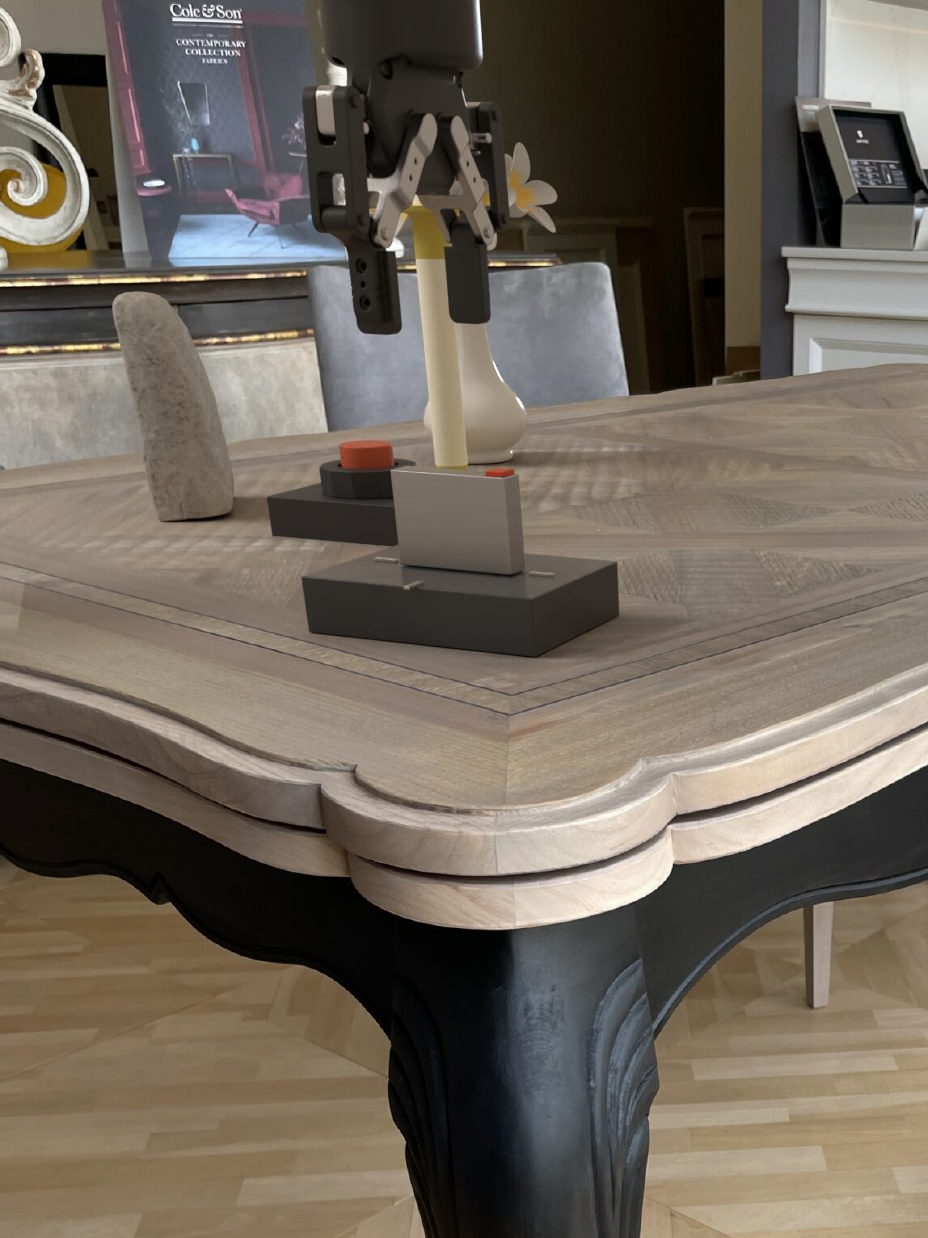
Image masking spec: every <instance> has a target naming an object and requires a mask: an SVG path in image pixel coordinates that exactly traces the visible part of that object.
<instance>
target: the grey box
mask: <svg viewBox="0 0 928 1238" xmlns="http://www.w3.org/2000/svg"><path fill="white" fill-rule="evenodd" d="M519 477H520V475H519V473H515V469H514V468H506V467H495V468H492V469H489V470H485V471H484V470H473V469H472V470H471V469H468V470H459V469H445V468H436V467H429V466H419V465H418V466H417V465H416V466H404V467H400V468H396V469H392V470H391V480H392V489H393V498H394V507H395V516H396V526H397V535H398V544H399V553H400V562H401V565H409V566H419V567H430V568H440V569H450V570H461V571H471V572H482V573H492V574H502V575H513V574H515V573H518V572H520V571H523V570H525V557H524V553H525V547H524V546H525V545H524V544H525V543H524V531H523V515H522V504H521V489H520V488H521V487H520V478H519Z"/></svg>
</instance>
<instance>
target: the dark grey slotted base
mask: <svg viewBox="0 0 928 1238" xmlns="http://www.w3.org/2000/svg"><path fill="white" fill-rule="evenodd" d="M524 557H525V570H523V571H520V572H518V573H515V574H513V575H502V574H492V573H482V572H471V571H461V570H450V569H440V568H430V567H419V566H409V565H401V562H400V553H399V545H396V546H388V547H386V548H383V549H380V550H377V551H375V552H374V551H373V552H372V553H371V552H370V553H368V554H366V555H363V556H358V557H357V558H353V559H350V560H347V561H343V562H341V563H338V564H334V565H332V566H329V567H326V568H322V569H319V570H316V571H314V572H310V573H307V574H304V575H302V576H300V577H301V579H300V580H301V585H302V592H303V600H304V606H305V613H306V622H307V628H308V631H309V632H310V633H315V634H324V635H334V636H343V637H352V638H362V639H370V640H378V641H388V642H396V643H405V644H415V645H424V646H433V647H440V648H441V647H442V648H449V649H460V650H470V651H478V652H486V653H496V654H503V655H504V654H505V655H513V656H523V657H532V658H537V657H538V656H540V655H542V654H544V653H546V652H548V651H551V650H552V649H554V648H556V647H558V646H560V645H562V644H564V643H566V642H568V641H570V640H572V639H574V638H576V637H578V636H580V635H582V634H584V633H586V632H588V631H589V630H592V629H594V628H595V627H597V626H600V625H602V624H603V623H605V622H608V621H609V620H611V619H614V618H616V617H617V616H619V615H620V596H619V573H618V569H619V568H618V561H615V560H606V559H595V558H583V557H573V556H572V557H571V556H562V555H561V556H559V555H549V554H538V553H526V552H524Z"/></svg>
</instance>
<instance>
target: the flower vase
mask: <svg viewBox="0 0 928 1238" xmlns="http://www.w3.org/2000/svg"><path fill="white" fill-rule="evenodd" d="M477 152H478V153H479V154H480V152H481V151H477ZM505 164H506V176H507V188H508V199H509V211H510V218H516V219H517V218H522V217H524V216H525V215H528V216H529V217H531V218H533V220H535V221H536V222H537V223H539V224H540V225H541V226H542V227H543V228H545V229H546V230H547V231H549V232H551V233H553V234H554V233H556V231H557V230H556V227H555V224H554V221H553V219H552V218H551V216H550V215H549V214H548V212H547V211H546V210H545V209H543V208H542V207H540V206H543V205H544V206H545V205H552V204H554V203H556V202H557V199H558V194H557V191H556V190H555V188H554V187H553V186H552V185H550V184H549V183H548V182H545V181H543V180H540V179H539V180H537V179H535V180H530V181H529V182H527V181H528V180H529V178H530V174H531V162H530V157H529V154H528V150H527V149H526V147H525V146H524V144H523V143H521V142H520V141H519V142H517V143H516V144H515V146H514V150H513V157H512V156H511V155H510V154H507V153H505ZM335 176H336V178H337V179H338V181H339V184H340V183H341V179H342V176H343V175H342V174H335ZM455 181H456V178H455ZM482 181H483V183H484V186H485V193H484V195H483V197H482V201H483V204H484V206H490V198H489V187H488V182H487V181H486V180H485V179H482ZM339 197H340V199H341V203H342V204H343V202H344V199H345V194H344V192H343V191H342V192H341V191H340V193H339ZM412 205H413V203H412ZM369 214H370V216H371V217H373V218H374V214H375V213H374V212H370V210H369ZM456 215H457V217H458V216H459V215H460V213H456ZM411 226H412V220H411V218H410V216H409V215H408V214H406V213H401V214H400V218H399V221H398V225H397V228H396V231H395V235H394V238H396V237H397V236H398V234H400V232H401V231H402V230H404V229H406V228H408V227H411ZM497 243H498V234H497V232H496V233H495V234H494V239H493V242H492V244H491V245H487V251H492V250H494V249H495V248H496V247H497ZM449 246H452V244H449ZM456 334H457V346H458V357H459V369H460V380H461V392H462V403H463V415H464V427H465V438H466V450H467V461H468V465H481V464H483V465H484V464H485V465H486V464H487V465H488V464H495V463H496V464H497V463H504V462H508V461H510V460H512V459H513V457H514V451H513V449H512V447H514V446H515V445H516V444H517V443H519V442H520V441H521V440H522V438H523V437H524V435H525V433H526V432H527V429H528V427H529V415H528V412H527V409H526V407H525V404H524V403H523V401H522V400H521V398H520V397H519V395H517V393H516V392H515V391H514V390H513V389H512V388H511V387H510V385H508V384H507V383H506V382H505V380H504V379H503V377H502V376H501V373H500V371H499V369H498V367H497V364H496V362H495V359H494V357H493V354H492V351H491V347H490V342H489V336H488V330H487V323H484V324H463V323H456ZM422 422H423V426H424V429H425V431H426V432H427V435H428V436H429V437H430V438H431V439H432V440H433V434H432V424H431V414H430V403H429V398H428V399H427V401H426V403H425V406H424V410H423V415H422Z"/></svg>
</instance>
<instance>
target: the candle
mask: <svg viewBox="0 0 928 1238" xmlns="http://www.w3.org/2000/svg"><path fill="white" fill-rule="evenodd" d="M454 210H455V212H456V213H459V209H454ZM375 211H376V208H372V209H370V212H374V213H375ZM402 213H406V214H408V215H409V216H410V218H411V220H412V225H411V226H412V235H413V247H414V256H415V268H416V278H417V287H418V289H417V290H418V299H419V307H420V318H421V319H420V320H421V329H422V340H423V351H424V359H425V360H424V362H425V372H426V383H427V390H428V399H429V403H430V414H431V424H432V434H433V439H432V442H433V454H434V455H433V456H434V465H435V468H445V469H459V470H469V464H468V461H467V450H466V438H465V427H464V415H463V403H462V392H461V380H460V369H459V357H458V346H457V334H456V323H455V322H453V321H452V319H451V318H450V315H449V306H448V293H447V280H446V267H445V254H444V246H449V244H448V243H447V242H446V241H445V239H444V236H443V234H442V232H441V230H440V227H439V225H438V223H437V221H436V218H435V216H434V214H433V212H432V211H431V210H429V209H427V208H425V207H424V206H423V205H422V204H421V203H420V201H419V199H418V196H417V195H415V197H414V200H413V205H411V206H410V207H409V208H408V209H406V210H404V211H402Z"/></svg>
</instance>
